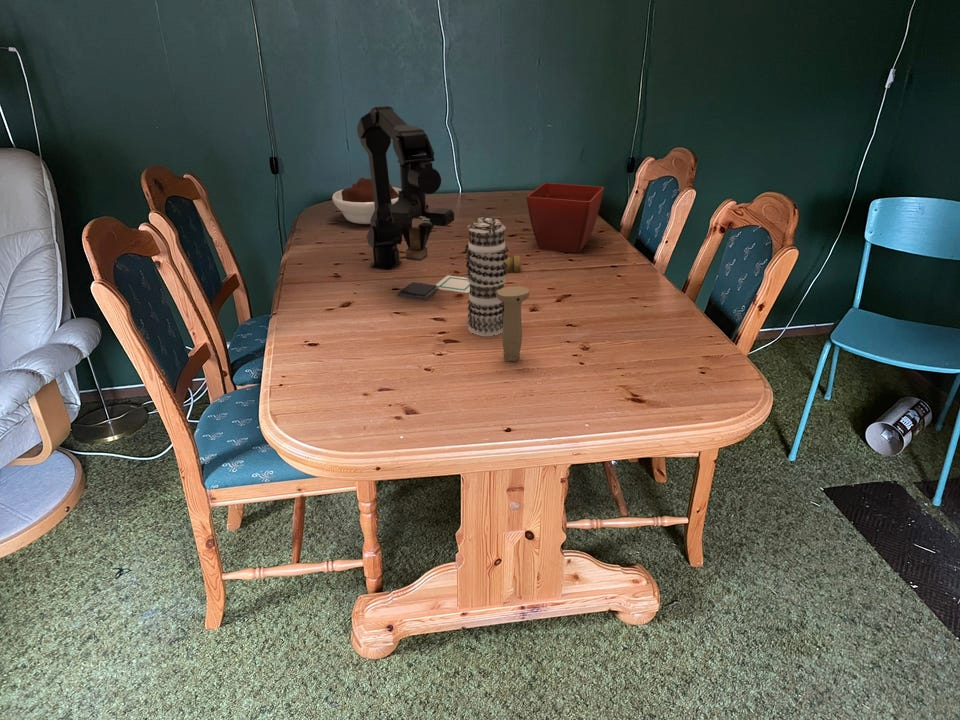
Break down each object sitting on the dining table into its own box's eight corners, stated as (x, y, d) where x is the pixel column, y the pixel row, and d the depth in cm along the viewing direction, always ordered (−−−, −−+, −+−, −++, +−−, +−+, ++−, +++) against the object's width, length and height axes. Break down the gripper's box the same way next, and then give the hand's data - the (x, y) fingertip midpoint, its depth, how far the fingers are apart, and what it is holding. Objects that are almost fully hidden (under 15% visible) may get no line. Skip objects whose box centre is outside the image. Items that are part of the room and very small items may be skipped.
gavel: (482, 240, 195) (515, 240, 195) (482, 255, 197) (514, 254, 197) (484, 258, 176) (521, 258, 176) (484, 274, 177) (520, 274, 178)
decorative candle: (493, 340, 140) (494, 229, 129) (458, 331, 145) (456, 222, 133) (514, 325, 147) (516, 218, 135) (480, 317, 151) (479, 212, 140)
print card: (432, 288, 168) (432, 287, 168) (447, 275, 176) (447, 274, 176) (467, 293, 165) (467, 292, 164) (481, 280, 173) (481, 279, 173)
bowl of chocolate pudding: (319, 223, 222) (314, 179, 215) (370, 208, 240) (366, 166, 233) (373, 235, 209) (369, 189, 202) (421, 218, 227) (419, 175, 220)
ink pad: (397, 296, 163) (397, 291, 162) (411, 285, 170) (411, 281, 169) (426, 300, 160) (425, 295, 160) (439, 289, 167) (438, 284, 166)
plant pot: (523, 251, 194) (525, 195, 187) (542, 233, 210) (544, 181, 202) (585, 258, 188) (590, 201, 180) (600, 240, 204) (604, 186, 196)
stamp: (406, 259, 160) (404, 230, 156) (413, 254, 163) (411, 226, 159) (420, 261, 158) (419, 232, 155) (427, 256, 162) (426, 227, 158)
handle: (492, 356, 134) (493, 289, 127) (520, 351, 136) (522, 284, 129) (502, 366, 130) (503, 298, 123) (530, 361, 132) (533, 293, 125)
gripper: (361, 189, 149) (367, 254, 156) (434, 196, 143) (437, 263, 150) (384, 179, 158) (389, 241, 165) (454, 185, 152) (455, 249, 159)
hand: (416, 248), depth 159 cm, fingers closed on stamp, 3 cm apart
